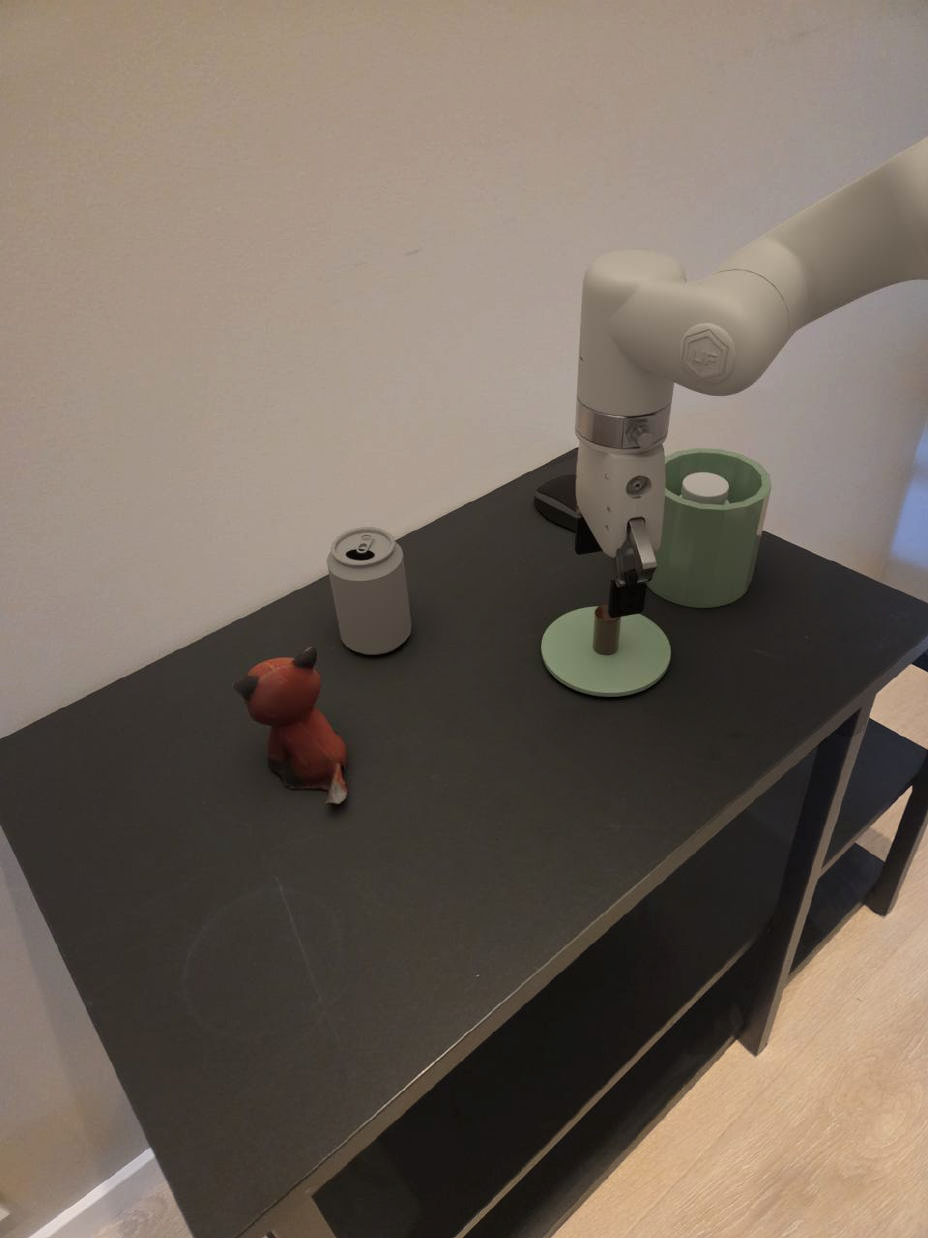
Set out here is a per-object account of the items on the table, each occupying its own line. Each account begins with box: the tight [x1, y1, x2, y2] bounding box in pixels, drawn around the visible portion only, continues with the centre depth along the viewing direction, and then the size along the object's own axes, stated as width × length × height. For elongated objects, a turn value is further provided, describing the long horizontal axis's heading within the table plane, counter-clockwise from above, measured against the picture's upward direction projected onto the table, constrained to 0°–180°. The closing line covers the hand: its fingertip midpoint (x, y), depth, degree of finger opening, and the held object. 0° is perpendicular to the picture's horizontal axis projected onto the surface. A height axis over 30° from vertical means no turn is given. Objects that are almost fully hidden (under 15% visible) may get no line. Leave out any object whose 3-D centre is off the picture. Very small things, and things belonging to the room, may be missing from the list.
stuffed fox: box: [231, 645, 349, 805], centre depth 74 cm, size 8×11×12 cm
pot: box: [647, 447, 773, 609], centre depth 93 cm, size 12×12×12 cm
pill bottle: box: [679, 472, 730, 505], centre depth 93 cm, size 6×6×11 cm
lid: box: [540, 603, 672, 698], centre depth 86 cm, size 13×13×6 cm
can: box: [326, 526, 412, 656], centre depth 87 cm, size 8×8×12 cm
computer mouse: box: [533, 473, 582, 532], centre depth 105 cm, size 7×12×4 cm, turn 41°
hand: (607, 581), depth 81 cm, fingers open, 9 cm apart
